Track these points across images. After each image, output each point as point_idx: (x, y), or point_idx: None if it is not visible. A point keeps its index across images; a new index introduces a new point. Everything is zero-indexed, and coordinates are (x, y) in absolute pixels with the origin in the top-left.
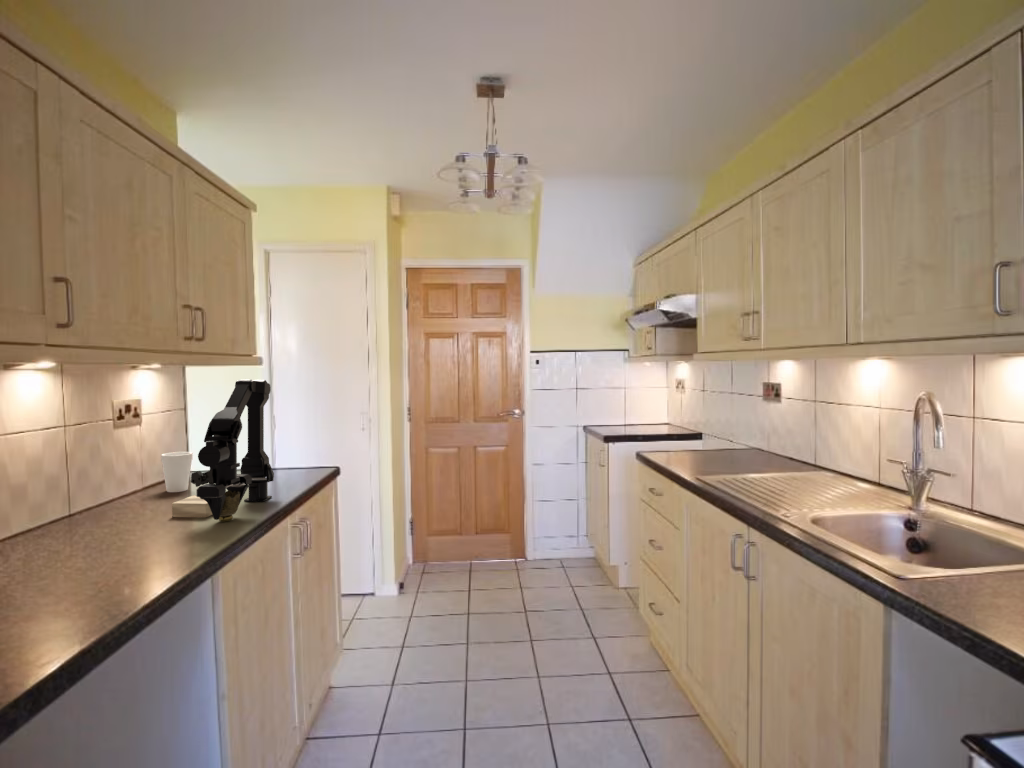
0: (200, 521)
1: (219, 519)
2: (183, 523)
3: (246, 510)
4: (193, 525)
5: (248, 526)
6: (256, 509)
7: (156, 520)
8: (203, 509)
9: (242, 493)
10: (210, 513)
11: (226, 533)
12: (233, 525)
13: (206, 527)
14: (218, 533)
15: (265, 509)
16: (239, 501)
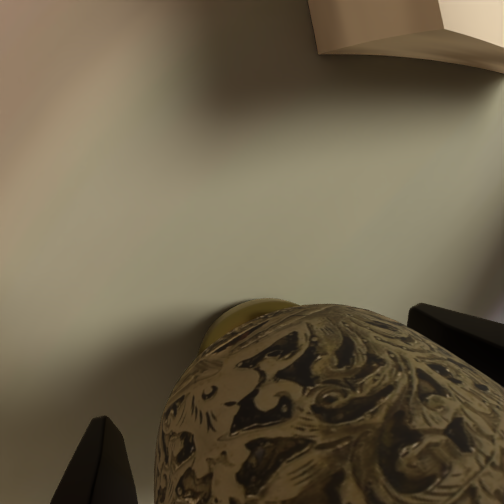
0: (158, 109)
1: (198, 353)
2: (42, 3)
3: (490, 239)
4: (5, 182)
5: None
6: (495, 275)
7: None
8: (371, 5)
9: None
10: (400, 54)
11: (51, 492)
12: None
13: (29, 355)
14: (24, 472)
15: (485, 315)
16: None
